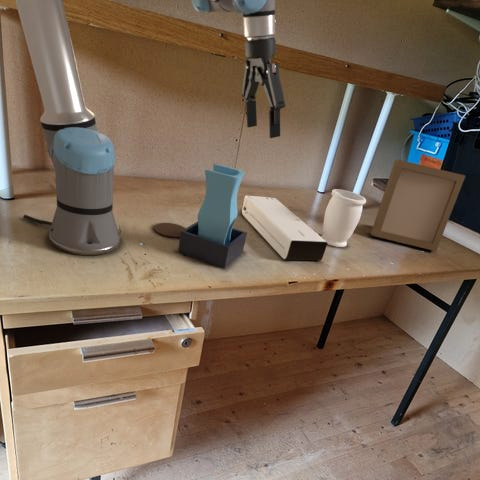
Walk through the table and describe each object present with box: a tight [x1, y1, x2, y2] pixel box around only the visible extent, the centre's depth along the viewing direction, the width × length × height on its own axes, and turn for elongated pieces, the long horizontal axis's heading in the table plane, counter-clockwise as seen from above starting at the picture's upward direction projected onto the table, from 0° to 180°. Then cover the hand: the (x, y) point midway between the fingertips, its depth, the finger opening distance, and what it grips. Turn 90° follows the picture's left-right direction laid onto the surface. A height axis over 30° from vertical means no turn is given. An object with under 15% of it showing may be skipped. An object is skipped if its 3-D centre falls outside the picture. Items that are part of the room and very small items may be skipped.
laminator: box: [241, 194, 328, 262], centre depth 122 cm, size 34×12×6 cm, turn 21°
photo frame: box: [370, 159, 466, 252], centre depth 139 cm, size 15×22×25 cm
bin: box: [177, 220, 248, 269], centre depth 104 cm, size 13×13×6 cm
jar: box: [320, 188, 367, 248], centre depth 125 cm, size 11×10×15 cm
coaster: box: [153, 222, 186, 239], centre depth 111 cm, size 9×9×1 cm
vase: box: [197, 162, 245, 246], centre depth 99 cm, size 8×8×20 cm
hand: (263, 131), depth 113 cm, fingers open, 13 cm apart
